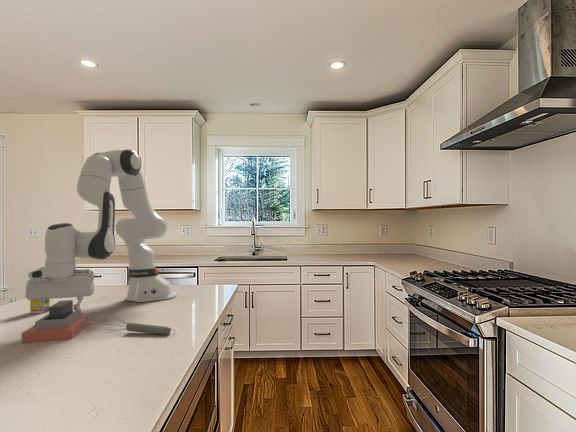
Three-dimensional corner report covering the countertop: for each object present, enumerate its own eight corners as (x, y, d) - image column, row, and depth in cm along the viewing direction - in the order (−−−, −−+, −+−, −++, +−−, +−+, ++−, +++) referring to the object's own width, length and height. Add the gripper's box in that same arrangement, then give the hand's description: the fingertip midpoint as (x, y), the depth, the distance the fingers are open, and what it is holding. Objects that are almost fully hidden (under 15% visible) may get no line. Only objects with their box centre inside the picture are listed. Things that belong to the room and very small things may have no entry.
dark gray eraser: (72, 316, 124) (72, 300, 124) (62, 324, 115) (62, 306, 115) (60, 317, 123) (60, 300, 123) (49, 325, 114) (49, 307, 114)
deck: (88, 323, 125) (88, 308, 125) (72, 338, 110) (71, 321, 110) (45, 326, 122) (45, 311, 122) (21, 342, 107) (21, 325, 106)
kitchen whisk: (170, 339, 109) (170, 319, 109) (76, 334, 115) (76, 315, 115) (180, 332, 115) (179, 313, 115) (90, 328, 121) (90, 310, 121)
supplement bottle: (39, 314, 138) (39, 282, 138) (26, 313, 139) (25, 282, 139) (54, 310, 145) (53, 279, 145) (41, 309, 146) (40, 279, 146)
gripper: (96, 267, 124) (97, 305, 124) (31, 270, 120) (32, 310, 120) (91, 270, 118) (91, 310, 118) (22, 273, 113) (23, 315, 113)
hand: (61, 310), depth 119 cm, fingers open, 8 cm apart
